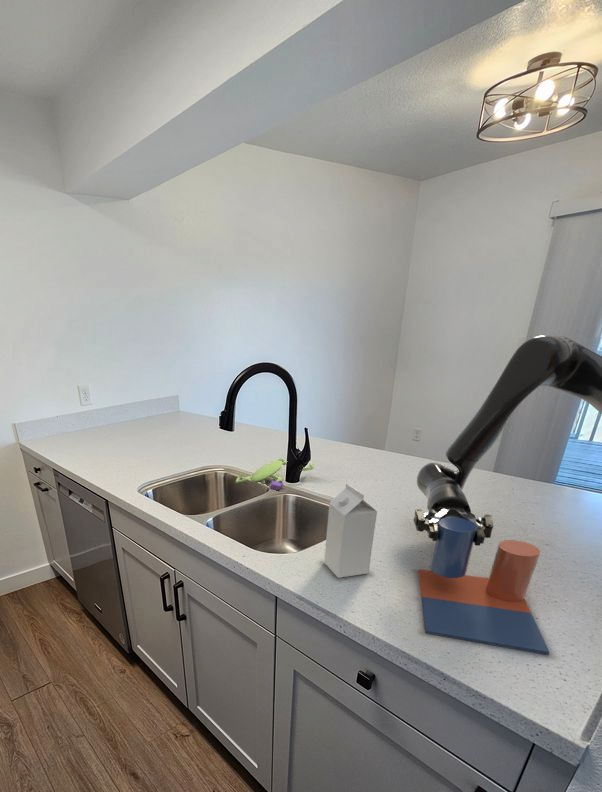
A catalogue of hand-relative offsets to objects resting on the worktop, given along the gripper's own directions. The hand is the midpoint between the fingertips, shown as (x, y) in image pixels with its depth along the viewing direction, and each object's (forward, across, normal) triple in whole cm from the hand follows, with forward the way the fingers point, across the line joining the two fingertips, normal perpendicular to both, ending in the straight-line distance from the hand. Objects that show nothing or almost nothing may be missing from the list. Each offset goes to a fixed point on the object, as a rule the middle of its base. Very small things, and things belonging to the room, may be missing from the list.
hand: (457, 538), depth 81 cm
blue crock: (-2, 0, +8) cm, 8 cm away
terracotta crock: (-3, +11, +12) cm, 17 cm away
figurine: (-61, -47, +12) cm, 78 cm away
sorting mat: (+3, +5, +13) cm, 14 cm away
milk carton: (-5, -19, +13) cm, 24 cm away
